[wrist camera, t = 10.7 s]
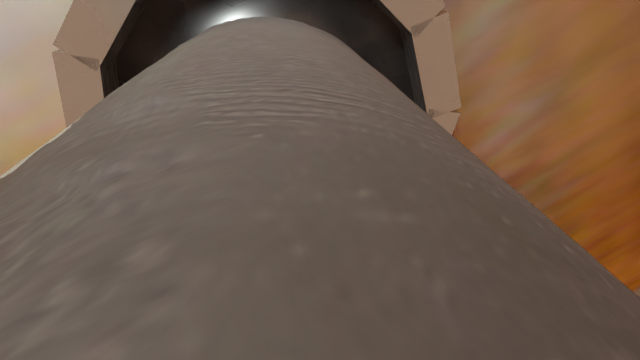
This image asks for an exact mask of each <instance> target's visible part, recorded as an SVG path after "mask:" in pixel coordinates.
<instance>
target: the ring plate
mask: <svg viewBox="0 0 640 360" xmlns="http://www.w3.org/2000/svg"><path fill="white" fill-rule="evenodd" d="M444 6H445V4H444V2H443V1H442V0H74V1H73V3H72V5H71V7H70V10H69V12H68V14H67V16H66V18H65V20H64V22H63V24H62V26H61V29H60V31H59V33H58V35H57V37H56V39H55V41H54V43H53V45H54V46H56V47H58V48H59V49H60V50H57V51H54V52H52V54H53V59H54V64H55V69H56V75H57V80H58V85H59V90H60V95H61V101H62V106H63V111H64V116H65V121H66V127H68V126H70V125H71V124H73V123H74V122H75V121H77V120H78V119H79V118H81V117H82V116H83V115H84V114H85V113H86V112H87V111H89V110H90V109H91V108H92V107H94V106H95V105H96V104H98V103H99V102H100V101H101V100H103V99H104V98H106V97H107V96H108V95H109V94H110V93H111V92H113V91H114V90H116V89H117V88H119V87H120V86H122V85H123V84H125V83H126V82H128V81H129V80H130V79H132V78H133V77H135V76H136V75H138V74H139V73H141V72H142V71H143V70H145V69H146V68H148V67H149V66H151V65H153V64H154V63H156V62H157V61H159V60H160V59H162V58H163V57H165V56H166V55H167V54H168V53H169V52H171V51H173V50H174V49H175V48H177V47H178V46H179V45H180V44H182V43H184V42H186V41H188V40H189V39H191V38H194V37H196V36H198V35H199V34H201V33H202V32H204V31H205V30H207V29H208V28H210V27H211V26H214V25H218V24H222V23H224V22H227V21H234V20H236V19H240V18H250V17H260V16H263V17H276V18H283V19H290V20H295V21H298V22H303V23H305V24H307V25H310V26H312V27H315V28H318V29H320V30H323V31H325V32H327V33H329V34H331V35H333V36H335V37H336V38H338V39H339V40H341V41H342V42H343V43H345V44H346V45H347V46H349V47H350V48H351V49H352V50H353V51H354V52H356V53H357V54H358V55H359V56H360V57H361V58H362V59H363V60H364V61H366V62H367V63H368V64H369V65H371V66H372V67H373V68H374V69H376V70H377V71H378V72H380V73H381V74H382V75H383V76H385V77H386V78H387V79H388V80H389V81H391V82H392V83H393V84H394V85H395V86H396V87H397V88H398V89H399V90H400V91H401V92H403V93H404V94H405V95H406V96H407V97H408V98H409V99H411V100H412V101H413V102H414V103H415V104H416V105H418V106H419V107H420V108H421V109H422V110H423V111H424V112H425V113H427V114H428V115H429V116H430V117H431V118H432V119H433V120H435V121H436V122H437V123H438V124H439V125H441V126H442V127H443V128H444V129H445V130H446V131H448V132H449V133H450V134H451V135H452V134H453V131H454V129H455V126H456V124H457V121H458V119H459V116H460V114H461V113H459V112H458V111H457V110H456V109H458V108H461V100H460V93H459V86H458V78H457V71H456V63H455V56H454V48H453V41H452V34H451V26H450V19H449V12H447V11H443V10H442V9H443V7H444Z"/></svg>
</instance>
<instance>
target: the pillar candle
mask: <svg viewBox="0 0 640 360" xmlns="http://www.w3.org/2000/svg"><path fill="white" fill-rule="evenodd" d="M0 360H640V297H639V296H637V295H636V294H635V293H634V292H633V291H631V290H630V289H629V288H628V287H627V286H625V285H624V284H623V283H622V282H621V281H619V280H618V279H617V278H616V277H615V276H614V275H612V274H611V273H610V272H609V271H608V270H607V269H606V268H605V267H603V266H602V265H601V264H600V263H599V262H598V261H597V260H596V259H595V258H594V257H593V256H592V255H590V254H589V253H588V252H587V251H586V250H585V249H584V248H582V247H581V246H580V245H579V244H578V243H577V242H575V241H574V240H573V239H572V238H570V237H569V236H568V235H567V234H566V233H565V232H563V231H562V230H561V229H560V228H559V227H558V226H557V225H556V224H554V223H553V222H552V221H551V220H550V219H549V218H548V217H546V216H545V215H544V214H543V213H542V212H541V211H540V210H539V209H537V208H536V207H535V206H534V205H533V204H531V203H530V202H529V201H528V200H527V199H525V198H524V197H523V196H522V195H521V194H519V193H518V192H517V191H516V190H515V189H514V188H512V187H511V186H510V185H509V184H508V183H506V182H505V181H504V180H503V179H502V178H500V177H499V176H498V175H497V174H496V173H495V172H493V171H492V170H491V169H490V168H489V167H488V166H487V165H485V164H484V163H483V162H482V161H481V160H480V159H479V158H477V157H476V156H475V155H474V154H473V153H472V152H470V151H469V150H468V149H467V148H466V147H465V146H464V145H462V144H461V143H460V142H459V141H458V140H457V139H456V138H455V137H453V136H452V135H451V134H450V133H449V132H448V131H446V130H445V129H444V128H443V127H442V126H441V125H439V124H438V123H437V122H436V121H435V120H433V119H432V118H431V117H430V116H429V115H428V114H427V113H425V112H424V111H423V110H422V109H421V108H420V107H419V106H418V105H416V104H415V103H414V102H413V101H412V100H411V99H409V98H408V97H407V96H406V95H405V94H404V93H403V92H401V91H400V90H399V89H398V88H397V87H396V86H395V85H394V84H393V83H392V82H391V81H389V80H388V79H387V78H386V77H385V76H383V75H382V74H381V73H380V72H378V71H377V70H376V69H374V68H373V67H372V66H371V65H369V64H368V63H367V62H366V61H364V60H363V59H362V58H361V57H360V56H359V55H358V54H357V53H356V52H354V51H353V50H352V49H351V48H350V47H349V46H347V45H346V44H345V43H343V42H342V41H341V40H339V39H338V38H336V37H335V36H333V35H331V34H329V33H327V32H325V31H323V30H320V29H318V28H315V27H312V26H310V25H307V24H305V23H303V22H298V21H295V20H290V19H283V18H276V17H263V16H260V17H250V18H240V19H236V20H234V21H227V22H224V23H222V24H218V25H214V26H211V27H210V28H208V29H207V30H205V31H204V32H202V33H201V34H199V35H198V36H196V37H194V38H191V39H189V40H188V41H186V42H184V43H182V44H180V45H179V46H178V47H177V48H175V49H174V50H173V51H171V52H169V53H168V54H167V55H166V56H165V57H163V58H162V59H160V60H159V61H157V62H156V63H154V64H153V65H151V66H149V67H148V68H146V69H145V70H143V71H142V72H141V73H139V74H138V75H136V76H135V77H133V78H132V79H130V80H129V81H128V82H126V83H125V84H123V85H122V86H120V87H119V88H117V89H116V90H114V91H113V92H111V93H110V94H109V95H108V96H107V97H106V98H104V99H103V100H101V101H100V102H99V103H98V104H96V105H95V106H94V107H92V108H91V109H90V110H89V111H87V112H86V113H85V114H84V115H83V116H82V117H81V118H80V119H79V120H78V121H76V122H75V123H73V124H72V125H71V127H70V128H69V129H67V130H66V131H65V132H64V133H63V134H62V135H60V136H59V137H58V138H56V139H55V140H53V141H52V142H50V143H48V144H46V145H44V146H43V147H42V148H40V149H39V150H38V151H36V152H35V153H34V154H33V155H32V156H31V157H29V158H28V159H27V160H26V161H25V162H24V163H23V164H22V165H20V166H19V167H18V168H17V169H16V170H14V171H13V172H12V173H10V174H8V175H6V176H5V177H3V178H1V179H0Z"/></svg>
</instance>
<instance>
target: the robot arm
mask: <svg viewBox="0 0 640 360" xmlns="http://www.w3.org/2000/svg"><path fill="white" fill-rule="evenodd" d="M79 119H80V118H79ZM79 119H78V120H79ZM78 120H77V121H78ZM75 122H76V121H75ZM75 122H74V123H75ZM71 125H72V124H71ZM71 125H70V126H68V127H67V128H66V129H64V130H63V131H62V132H60V133H59V134H57V135H56V136H55V137H53V138H52V139H51V140H49V141H48V142H46V143H45V144H44V145H46V144H48V143H50V142H52V141H53V140H55V139H56V138H58V137H59V136H60V135H62V134H63V133H64V132H65V131H66V130H67V129H69V128H70V127H71ZM44 145H42V146H41V147H40V148H42V147H43V146H44ZM40 148H38V149H37V150H35V151H34V152H33V153H31V154H30V155H29V156H27V157H26V158H24V159H23V160H22V161H20V162H19V163H18V164H16V165H15V166H13V167H12V168H11V169H9V170H8V171H7V172H5V173H4V174H2V175H1V176H0V179H1V178H3V177H5V176H6V175H8V174H10V173H12V172H13V171H14V170H16V169H17V168H18V167H19V166H20V165H22V164H23V163H24V162H25V161H26V160H27V159H28V158H29V157H31V156H32V155H33V154H34V153H35V152H36V151H38V150H39V149H40Z"/></svg>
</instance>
